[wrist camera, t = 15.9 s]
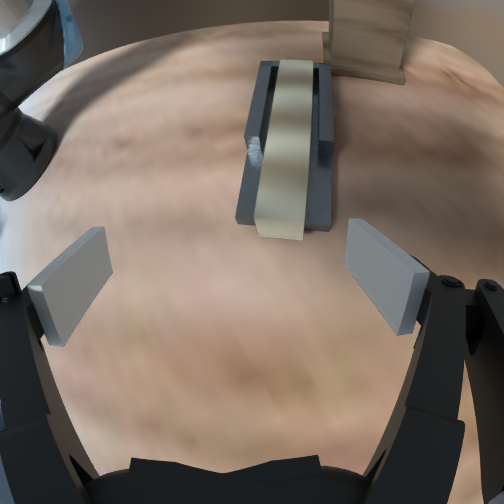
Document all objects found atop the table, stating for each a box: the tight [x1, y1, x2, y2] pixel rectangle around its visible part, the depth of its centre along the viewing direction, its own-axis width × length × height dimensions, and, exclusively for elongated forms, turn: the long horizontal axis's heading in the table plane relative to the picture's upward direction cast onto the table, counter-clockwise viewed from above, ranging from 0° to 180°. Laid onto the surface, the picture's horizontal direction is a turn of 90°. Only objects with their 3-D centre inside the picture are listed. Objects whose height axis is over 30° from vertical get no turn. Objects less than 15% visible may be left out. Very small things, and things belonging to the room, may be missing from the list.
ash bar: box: [254, 59, 313, 240], centre depth 29 cm, size 22×4×4 cm, turn 171°
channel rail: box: [235, 61, 334, 232], centre depth 31 cm, size 22×9×4 cm, turn 172°
